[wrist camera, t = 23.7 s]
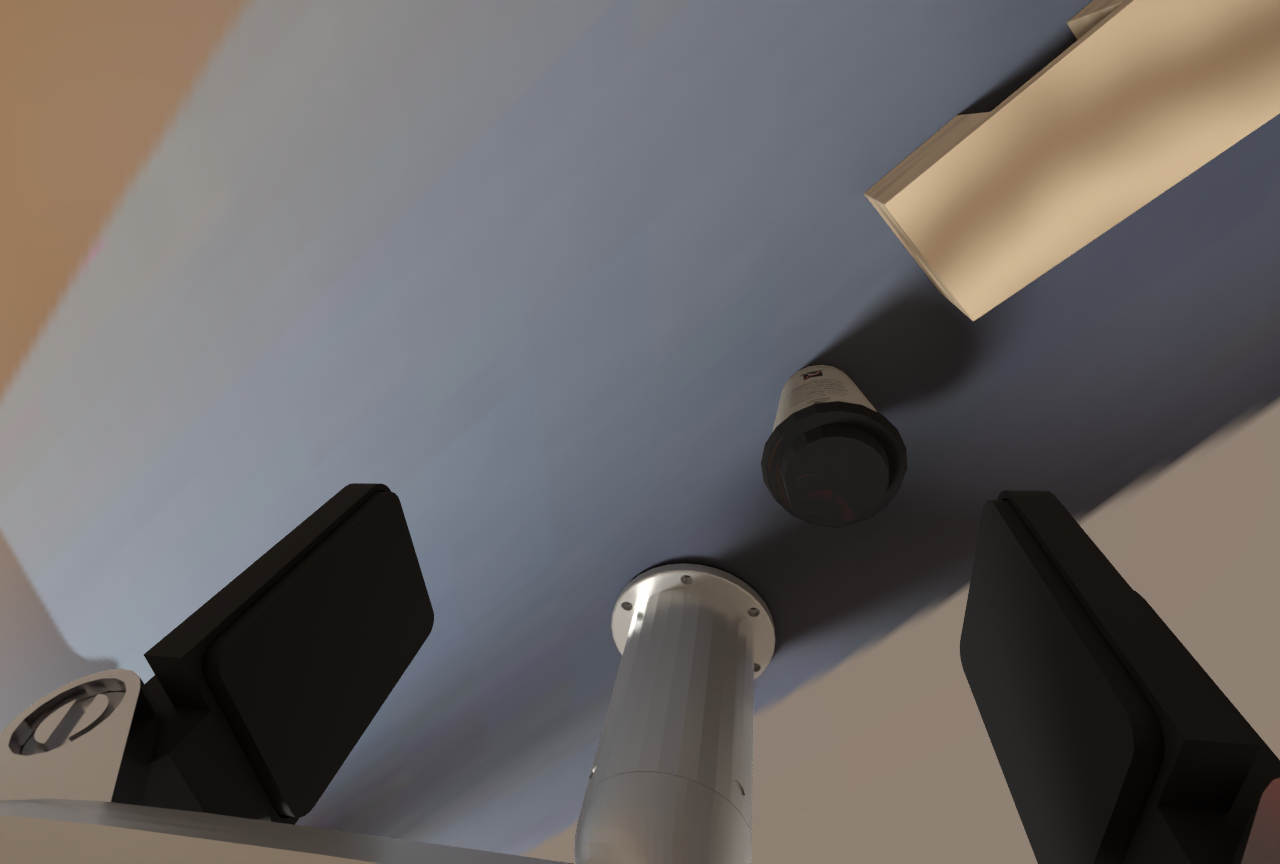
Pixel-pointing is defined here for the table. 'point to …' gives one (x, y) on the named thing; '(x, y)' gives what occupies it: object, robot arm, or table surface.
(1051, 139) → the beam
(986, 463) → the table surface
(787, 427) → the coffee cup
